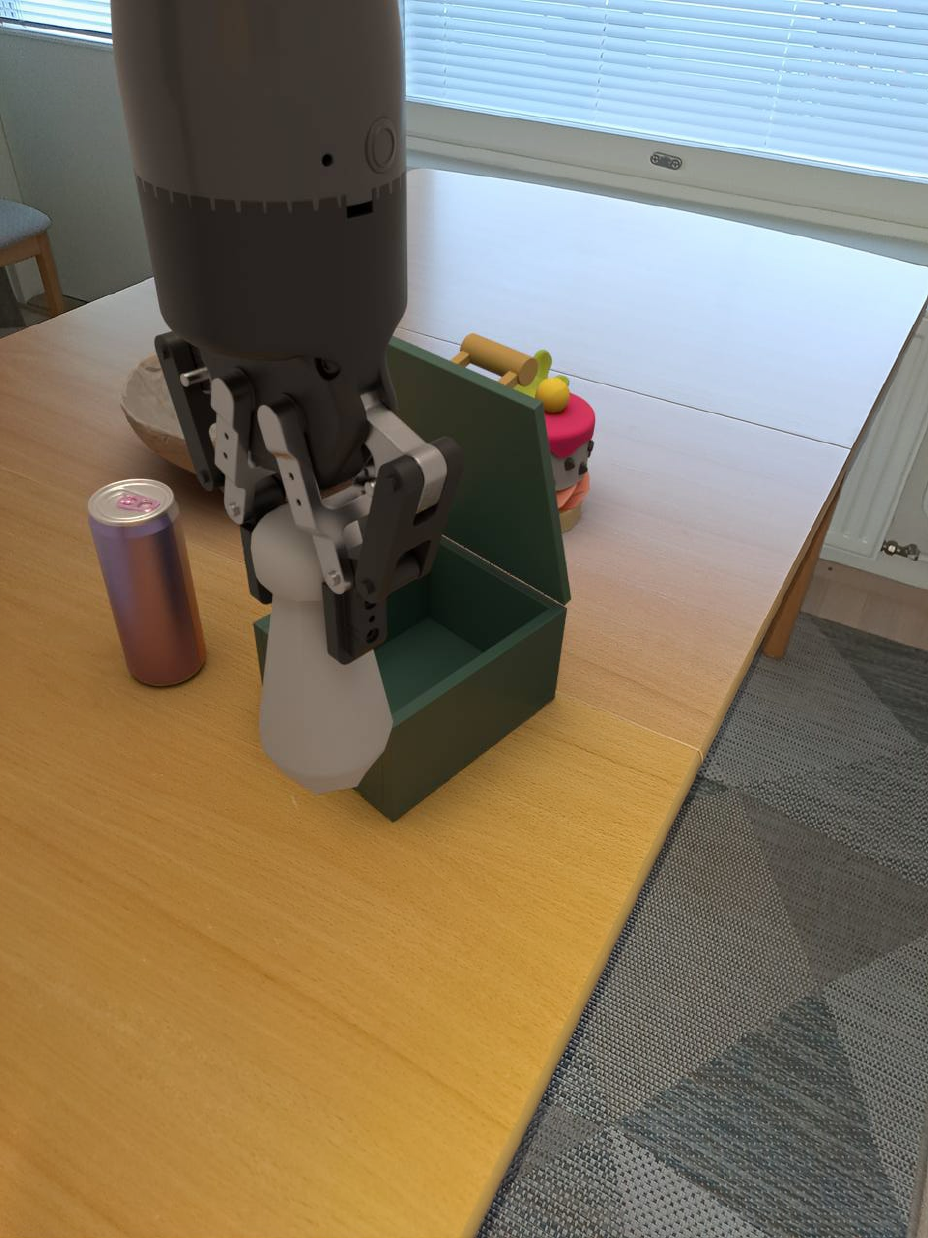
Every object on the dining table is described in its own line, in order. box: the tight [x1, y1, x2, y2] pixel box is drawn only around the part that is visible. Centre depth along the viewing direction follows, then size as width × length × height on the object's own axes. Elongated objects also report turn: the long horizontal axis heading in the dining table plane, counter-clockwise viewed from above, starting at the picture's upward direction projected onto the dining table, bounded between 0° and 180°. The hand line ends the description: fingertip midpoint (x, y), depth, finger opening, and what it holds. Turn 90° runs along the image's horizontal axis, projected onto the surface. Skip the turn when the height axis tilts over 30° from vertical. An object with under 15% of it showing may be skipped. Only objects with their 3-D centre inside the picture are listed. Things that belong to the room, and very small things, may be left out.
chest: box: [252, 535, 568, 823], centre depth 66 cm, size 17×14×9 cm
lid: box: [386, 332, 572, 607], centre depth 61 cm, size 18×14×5 cm
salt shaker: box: [251, 503, 393, 796], centre depth 37 cm, size 6×6×13 cm
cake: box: [513, 349, 596, 534], centre depth 85 cm, size 10×10×15 cm
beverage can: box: [87, 478, 207, 687], centre depth 66 cm, size 6×6×15 cm
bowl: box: [118, 350, 216, 475], centre depth 92 cm, size 26×26×10 cm
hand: (316, 619), depth 36 cm, fingers closed on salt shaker, 4 cm apart
